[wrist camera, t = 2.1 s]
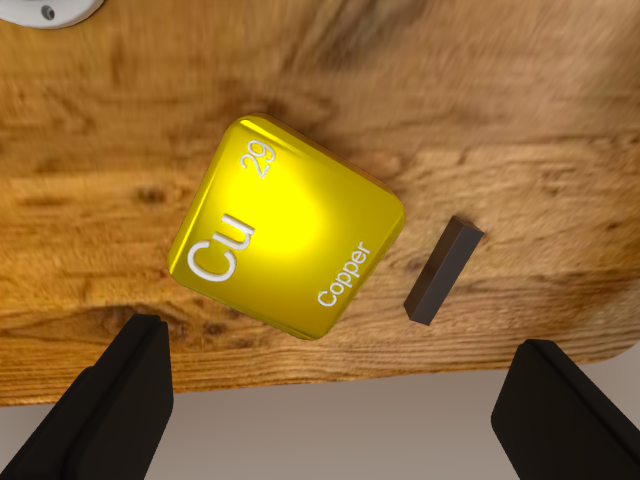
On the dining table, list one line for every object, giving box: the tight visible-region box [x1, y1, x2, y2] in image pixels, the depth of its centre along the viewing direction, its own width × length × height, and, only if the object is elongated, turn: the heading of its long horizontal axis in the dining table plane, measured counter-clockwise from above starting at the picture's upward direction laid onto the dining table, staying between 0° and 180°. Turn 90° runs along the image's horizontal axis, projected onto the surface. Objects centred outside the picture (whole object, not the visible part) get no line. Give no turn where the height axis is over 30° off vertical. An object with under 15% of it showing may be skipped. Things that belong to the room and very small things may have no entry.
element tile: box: [167, 112, 406, 340], centre depth 30 cm, size 15×15×5 cm
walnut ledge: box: [404, 216, 484, 326], centre depth 33 cm, size 2×10×2 cm, turn 159°
